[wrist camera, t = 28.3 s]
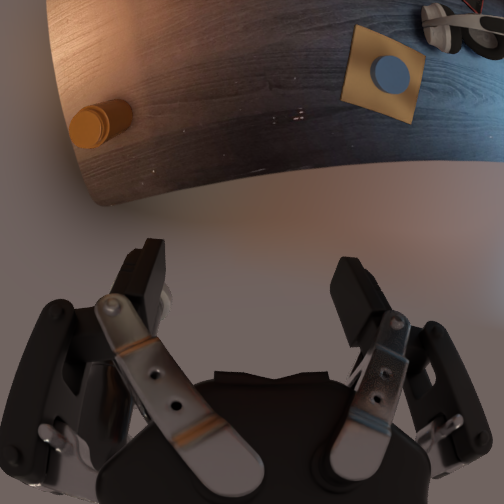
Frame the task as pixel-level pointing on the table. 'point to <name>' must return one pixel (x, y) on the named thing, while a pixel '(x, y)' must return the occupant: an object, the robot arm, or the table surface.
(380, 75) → the lid
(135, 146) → the table surface
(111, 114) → the jar
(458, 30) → the headphones
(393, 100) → the coaster
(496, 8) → the table surface
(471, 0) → the smartphone
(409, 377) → the robot arm
